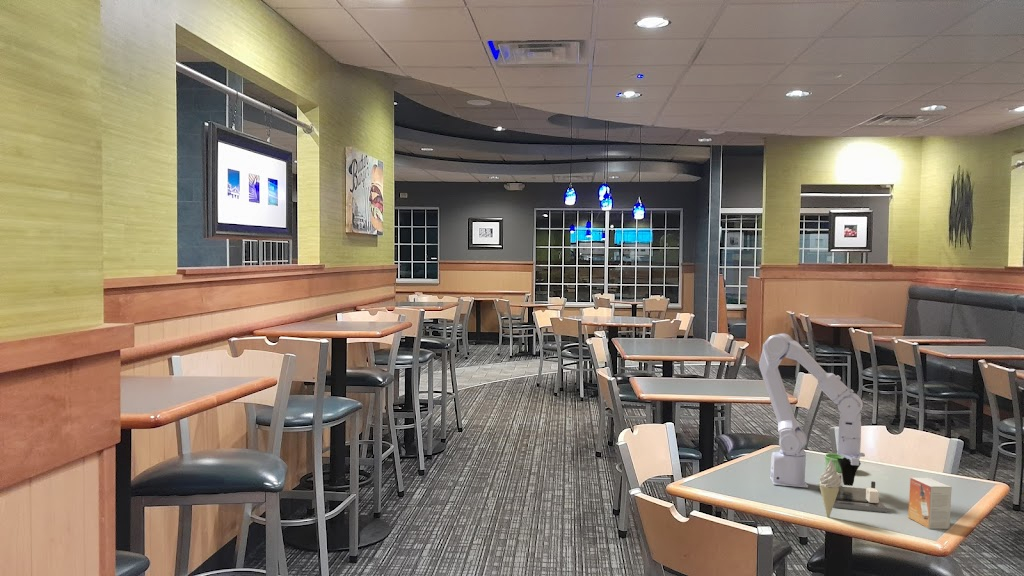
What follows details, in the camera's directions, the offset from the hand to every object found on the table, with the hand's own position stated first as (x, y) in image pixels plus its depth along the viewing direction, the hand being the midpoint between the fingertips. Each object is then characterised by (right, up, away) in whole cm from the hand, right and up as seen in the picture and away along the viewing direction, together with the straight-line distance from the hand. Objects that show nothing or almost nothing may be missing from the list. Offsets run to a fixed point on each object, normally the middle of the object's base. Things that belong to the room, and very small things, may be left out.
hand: (848, 484), depth 203 cm
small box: (+9, -3, -24) cm, 26 cm away
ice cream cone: (-15, -2, -22) cm, 27 cm away
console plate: (-2, -2, -7) cm, 7 cm away
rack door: (-3, -1, 0) cm, 3 cm away
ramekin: (+9, -3, +26) cm, 28 cm away
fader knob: (+1, -1, -12) cm, 12 cm away
